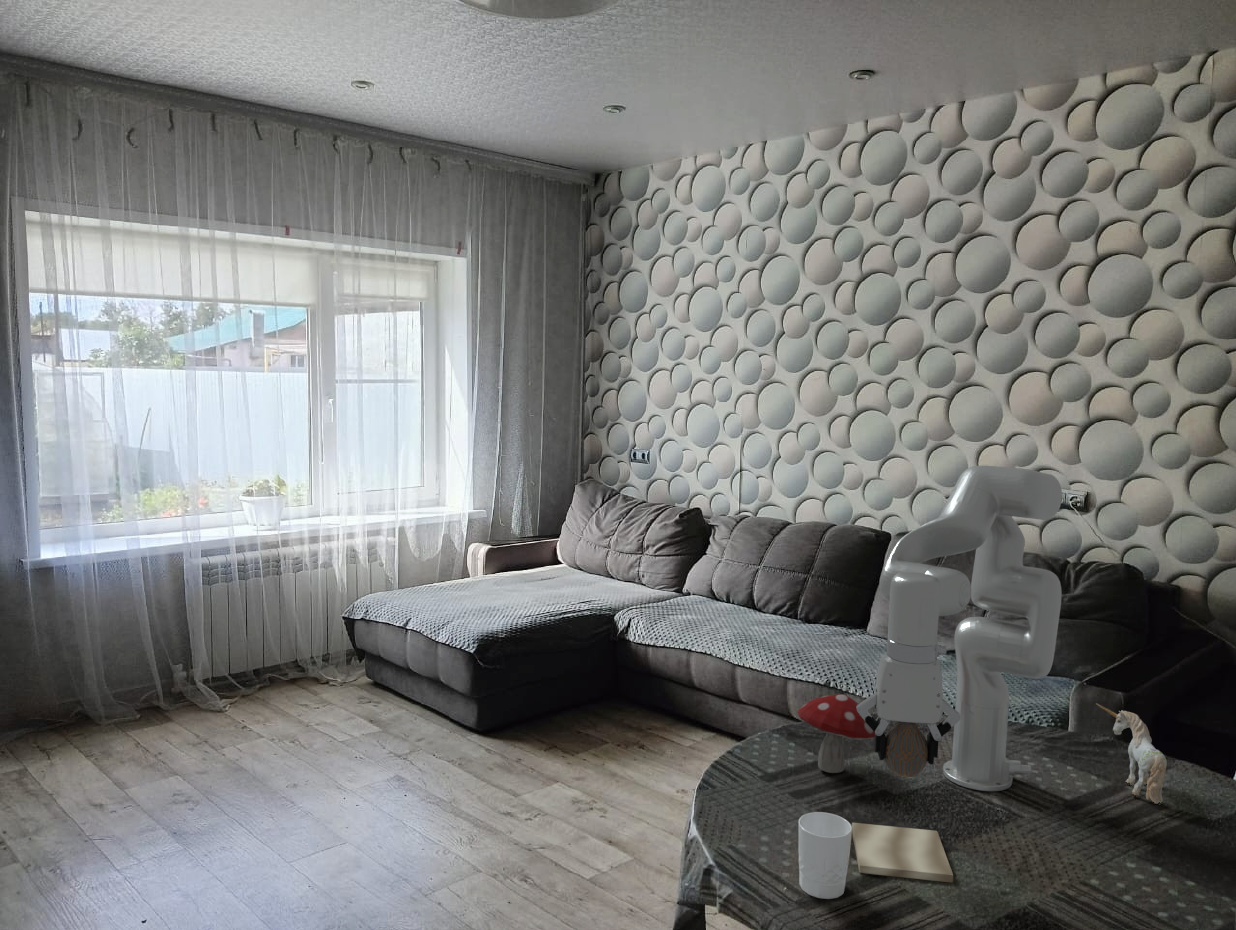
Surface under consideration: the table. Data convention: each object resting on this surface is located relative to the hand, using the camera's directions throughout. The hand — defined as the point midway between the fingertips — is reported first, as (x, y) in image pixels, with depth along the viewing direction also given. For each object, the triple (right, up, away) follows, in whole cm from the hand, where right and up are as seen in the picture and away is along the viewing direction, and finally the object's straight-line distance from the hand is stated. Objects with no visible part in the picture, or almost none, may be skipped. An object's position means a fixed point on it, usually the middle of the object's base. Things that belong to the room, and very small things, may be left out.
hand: (905, 758), depth 149 cm
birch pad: (0, -16, +2) cm, 16 cm away
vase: (0, -3, 0) cm, 3 cm away
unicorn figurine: (+50, -15, +28) cm, 60 cm away
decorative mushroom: (-3, -13, +33) cm, 36 cm away
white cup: (-15, -17, -8) cm, 24 cm away
